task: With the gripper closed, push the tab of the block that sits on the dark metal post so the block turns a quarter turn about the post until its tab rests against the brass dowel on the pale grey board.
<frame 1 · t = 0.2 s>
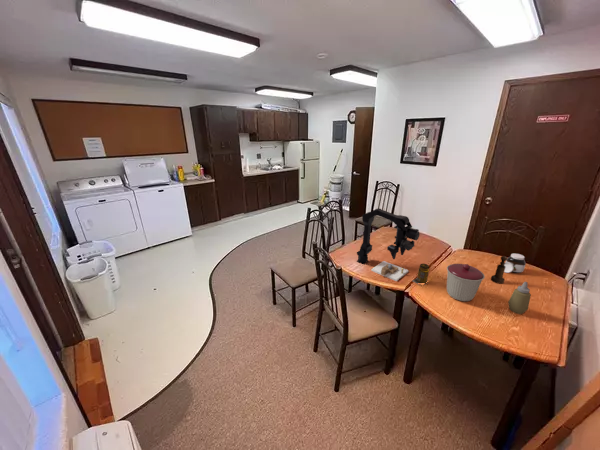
hand: (397, 257, 160), 14 cm above the table, fingers open, 9 cm apart
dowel: (401, 274, 166), resting on board
canister: (459, 296, 143), on the table
pepper mill: (497, 281, 156), on the table
condiment: (420, 281, 158), on the table
spread jar: (510, 271, 166), on the table
block: (387, 269, 167), point 3 cm above the table, hinge at 0.0°
board: (389, 271, 170), on the table
squeeze bottle: (515, 310, 130), on the table
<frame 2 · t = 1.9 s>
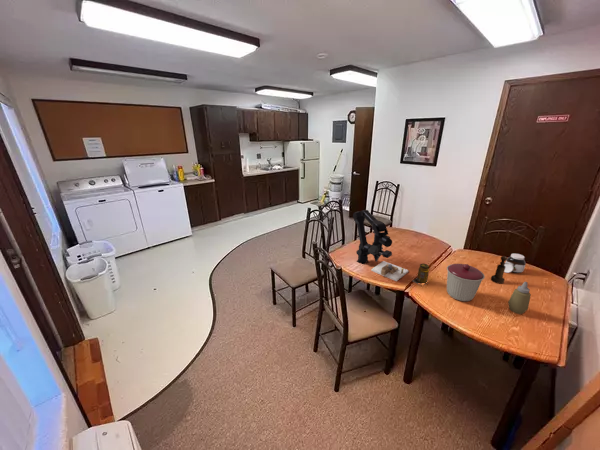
hand: (376, 261, 167), 8 cm above the table, fingers closed
nothing on the table moved.
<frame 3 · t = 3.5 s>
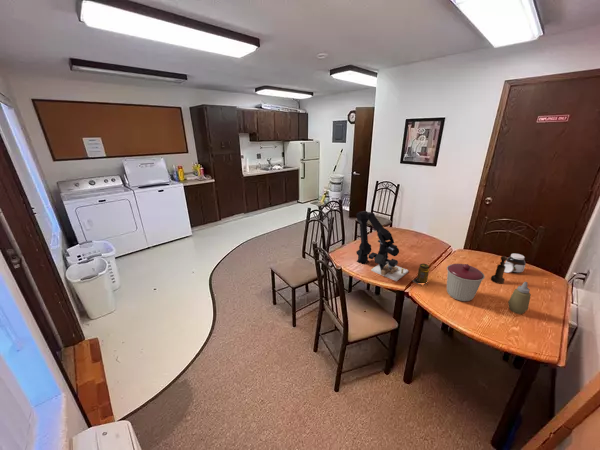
hand: (381, 270, 166), 3 cm above the table, fingers closed
block: (387, 269, 167), point 3 cm above the table, hinge at 0.2°, touching gripper
everything else where it was.
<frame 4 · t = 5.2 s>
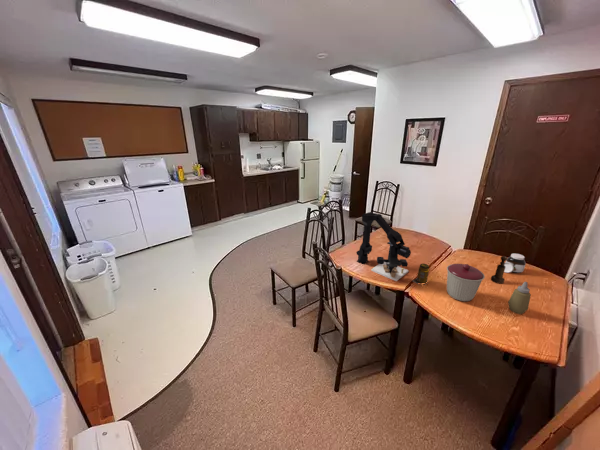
hand: (390, 272, 162), 3 cm above the table, fingers closed
block: (391, 269, 167), point 3 cm above the table, hinge at 40.8°, touching gripper
everything else where it was.
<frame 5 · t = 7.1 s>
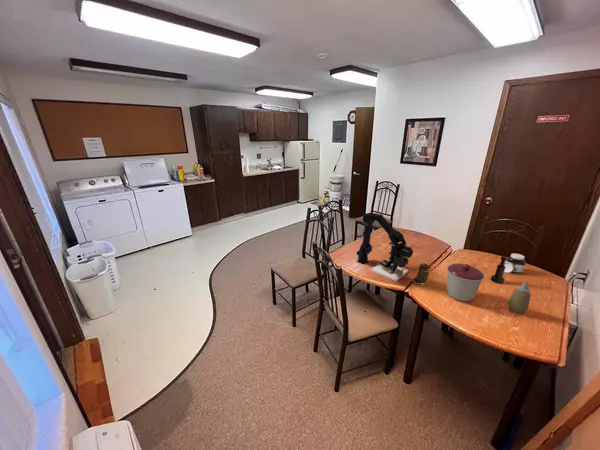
hand: (392, 272, 162), 4 cm above the table, fingers closed
block: (393, 269, 167), point 3 cm above the table, hinge at 73.6°
everything else where it was.
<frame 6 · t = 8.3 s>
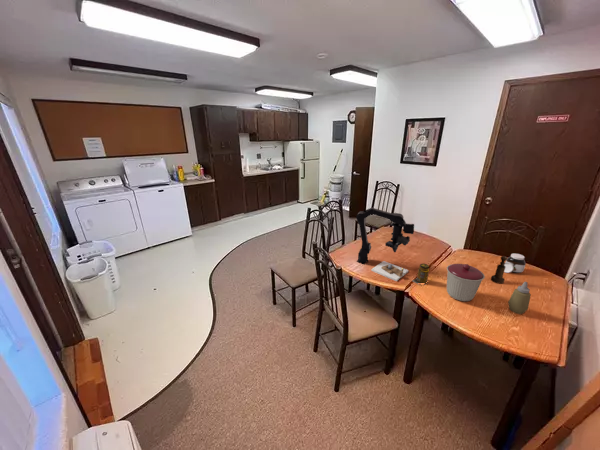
hand: (394, 252, 172), 12 cm above the table, fingers closed
nothing on the table moved.
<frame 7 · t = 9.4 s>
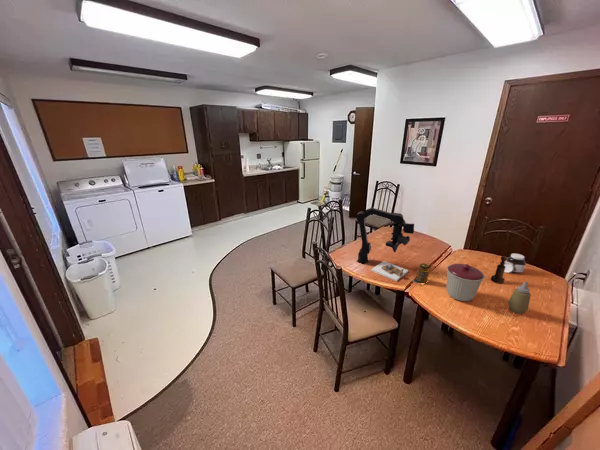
hand: (394, 251, 172), 12 cm above the table, fingers closed
nothing on the table moved.
at the end: block at +74° (first picture: +0°) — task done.
